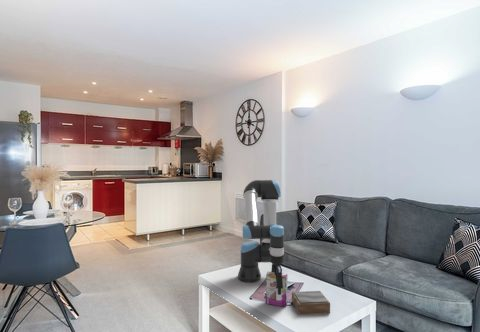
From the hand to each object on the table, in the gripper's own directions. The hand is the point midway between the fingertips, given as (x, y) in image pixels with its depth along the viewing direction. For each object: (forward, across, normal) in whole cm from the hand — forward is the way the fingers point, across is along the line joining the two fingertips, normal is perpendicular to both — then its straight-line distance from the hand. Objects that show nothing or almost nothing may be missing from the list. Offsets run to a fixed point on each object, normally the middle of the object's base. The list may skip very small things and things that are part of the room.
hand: (276, 295), depth 161 cm
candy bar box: (+5, 0, 0) cm, 5 cm away
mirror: (+5, +5, +17) cm, 18 cm away
